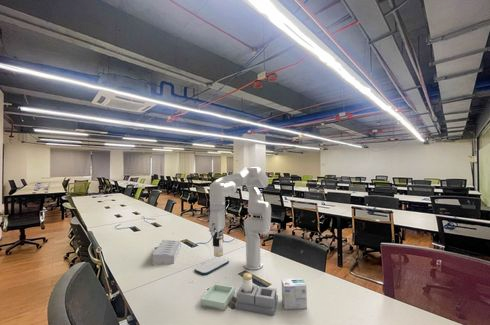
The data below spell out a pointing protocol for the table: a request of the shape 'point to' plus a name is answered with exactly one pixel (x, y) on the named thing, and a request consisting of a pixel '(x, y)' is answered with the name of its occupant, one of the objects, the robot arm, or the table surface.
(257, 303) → the panel
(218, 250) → the fuse
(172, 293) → the table surface
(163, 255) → the warehouse
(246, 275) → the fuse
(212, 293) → the parts tray
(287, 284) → the light bulb box
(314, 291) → the table surface
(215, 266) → the external hard drive
